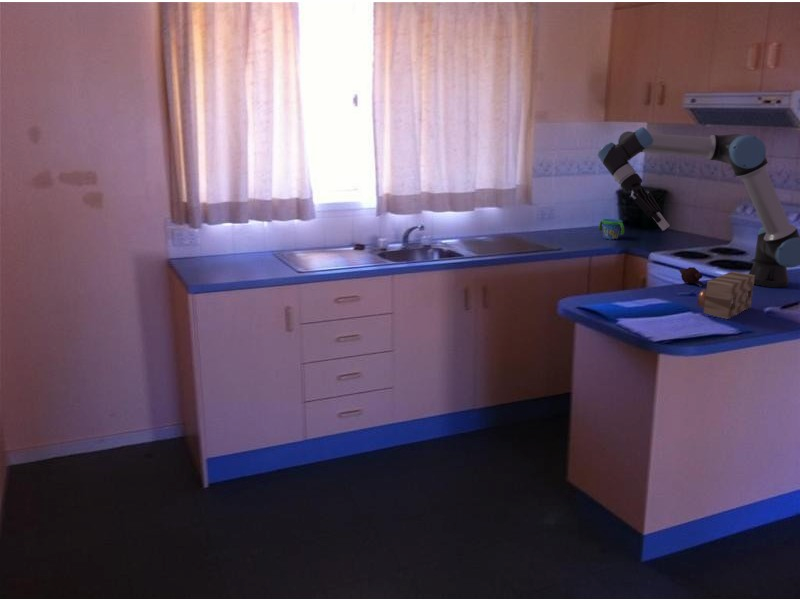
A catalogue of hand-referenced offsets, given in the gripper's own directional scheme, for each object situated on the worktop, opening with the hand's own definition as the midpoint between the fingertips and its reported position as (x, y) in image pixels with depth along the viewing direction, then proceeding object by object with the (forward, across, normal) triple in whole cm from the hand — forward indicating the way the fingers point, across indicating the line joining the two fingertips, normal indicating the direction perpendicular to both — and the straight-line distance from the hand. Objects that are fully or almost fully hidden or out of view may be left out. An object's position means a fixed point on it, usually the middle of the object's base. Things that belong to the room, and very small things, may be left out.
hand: (666, 228), depth 263 cm
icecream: (+18, -30, -19) cm, 40 cm away
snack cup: (-33, -99, -70) cm, 126 cm away
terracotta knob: (+34, +9, 0) cm, 36 cm away
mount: (+37, +2, 0) cm, 37 cm away
